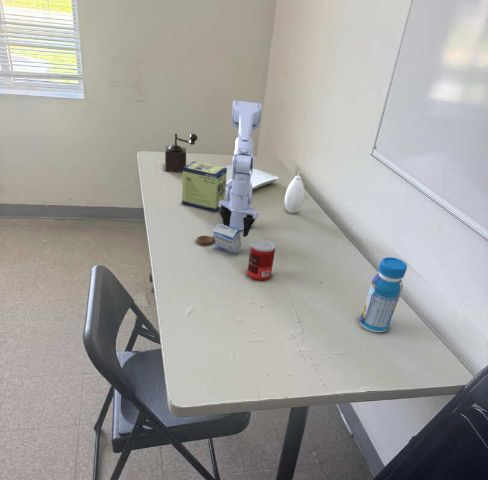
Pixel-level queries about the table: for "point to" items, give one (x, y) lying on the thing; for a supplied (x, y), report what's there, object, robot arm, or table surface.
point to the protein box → (203, 185)
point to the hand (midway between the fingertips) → (236, 232)
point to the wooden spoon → (205, 240)
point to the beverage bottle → (383, 295)
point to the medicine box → (227, 238)
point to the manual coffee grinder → (177, 155)
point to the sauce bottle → (294, 195)
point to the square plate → (254, 177)
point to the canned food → (261, 259)
